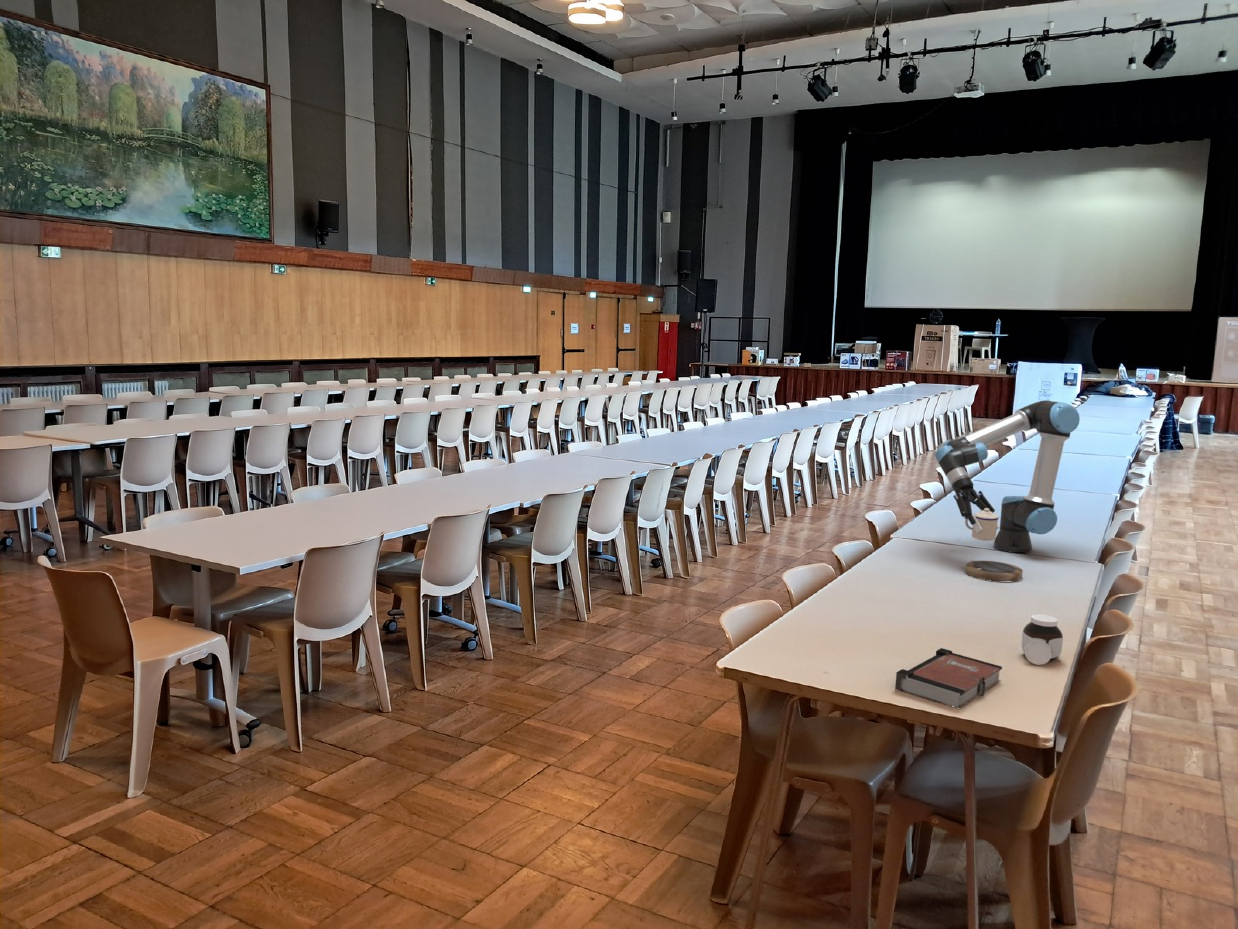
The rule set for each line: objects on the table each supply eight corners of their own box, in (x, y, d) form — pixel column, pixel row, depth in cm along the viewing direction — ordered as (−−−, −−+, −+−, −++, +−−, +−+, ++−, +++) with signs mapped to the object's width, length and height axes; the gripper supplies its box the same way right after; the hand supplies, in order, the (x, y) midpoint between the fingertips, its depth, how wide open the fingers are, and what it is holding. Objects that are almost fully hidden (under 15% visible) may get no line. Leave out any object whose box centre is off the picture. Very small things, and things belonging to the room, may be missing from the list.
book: (961, 712, 220) (963, 692, 219) (894, 690, 232) (896, 672, 231) (1003, 683, 239) (1005, 665, 238) (939, 665, 251) (941, 648, 250)
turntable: (988, 565, 358) (988, 557, 357) (1033, 578, 341) (1034, 569, 340) (954, 571, 348) (954, 563, 347) (998, 585, 331) (999, 576, 330)
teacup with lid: (999, 537, 349) (1002, 508, 347) (992, 542, 342) (995, 513, 340) (967, 531, 356) (970, 503, 354) (960, 536, 349) (963, 507, 347)
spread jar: (1050, 652, 262) (1054, 614, 260) (1071, 667, 251) (1075, 627, 249) (1010, 652, 261) (1013, 613, 259) (1029, 667, 250) (1033, 626, 248)
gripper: (973, 485, 365) (1001, 533, 354) (934, 487, 355) (962, 537, 344) (985, 474, 359) (1014, 523, 348) (946, 477, 349) (974, 527, 338)
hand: (988, 530), depth 346 cm, fingers closed on teacup with lid, 9 cm apart
